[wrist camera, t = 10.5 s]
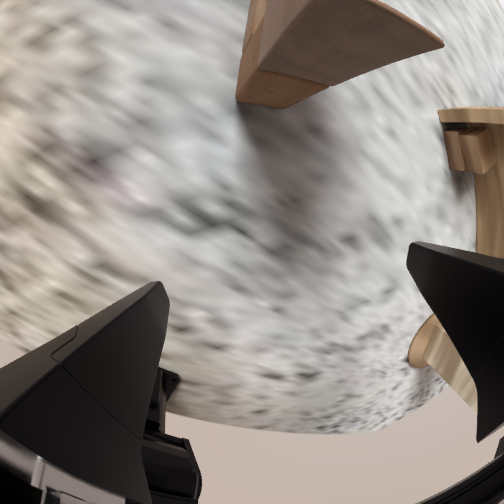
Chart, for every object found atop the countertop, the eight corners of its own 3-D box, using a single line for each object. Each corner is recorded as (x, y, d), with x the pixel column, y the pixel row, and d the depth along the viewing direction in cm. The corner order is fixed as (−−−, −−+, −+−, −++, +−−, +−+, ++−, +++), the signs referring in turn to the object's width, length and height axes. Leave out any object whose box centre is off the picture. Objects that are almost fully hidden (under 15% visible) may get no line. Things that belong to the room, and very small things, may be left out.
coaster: (426, 369, 31) (428, 372, 30) (396, 359, 28) (399, 362, 27) (463, 317, 29) (466, 319, 29) (440, 296, 26) (443, 299, 26)
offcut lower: (447, 168, 22) (463, 171, 19) (441, 131, 20) (457, 131, 18) (465, 162, 22) (480, 164, 20) (459, 127, 20) (474, 128, 18)
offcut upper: (466, 171, 20) (483, 174, 18) (457, 135, 18) (475, 136, 16) (480, 160, 20) (496, 162, 17) (472, 126, 18) (488, 127, 16)
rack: (453, 267, 25) (504, 296, 18) (437, 110, 19) (504, 109, 12) (480, 247, 26) (527, 270, 18) (468, 106, 19) (525, 107, 12)
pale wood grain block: (421, 357, 28) (478, 415, 17) (435, 324, 27) (500, 381, 16) (438, 351, 29) (493, 403, 18) (451, 319, 28) (513, 370, 16)
